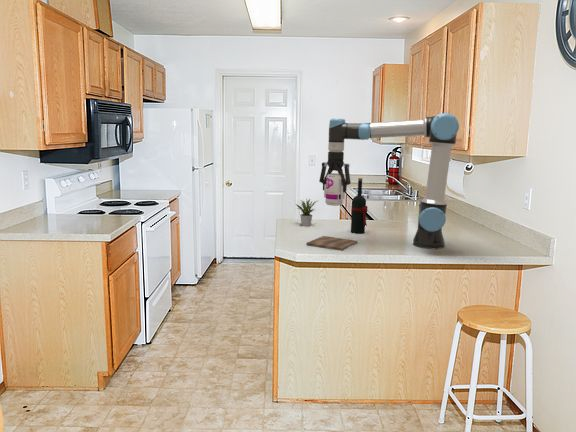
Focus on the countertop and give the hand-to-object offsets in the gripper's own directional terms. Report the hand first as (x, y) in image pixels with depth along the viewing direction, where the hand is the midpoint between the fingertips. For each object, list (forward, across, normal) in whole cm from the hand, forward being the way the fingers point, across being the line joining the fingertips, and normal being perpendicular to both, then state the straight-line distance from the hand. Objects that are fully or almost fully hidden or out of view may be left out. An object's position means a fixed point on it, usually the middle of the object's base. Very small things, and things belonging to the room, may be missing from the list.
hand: (334, 198), depth 251 cm
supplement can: (+3, 0, 0) cm, 3 cm away
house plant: (+23, -32, +35) cm, 53 cm away
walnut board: (+23, 0, 0) cm, 23 cm away
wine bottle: (+23, +1, +33) cm, 40 cm away
